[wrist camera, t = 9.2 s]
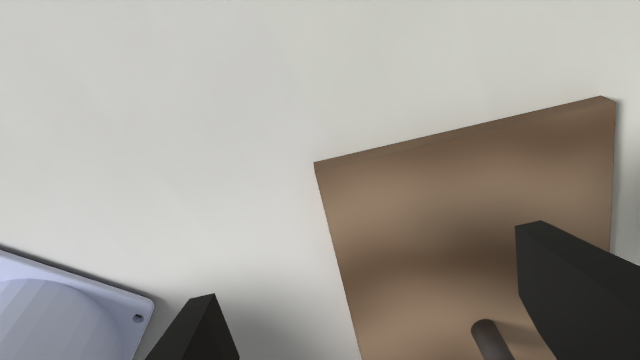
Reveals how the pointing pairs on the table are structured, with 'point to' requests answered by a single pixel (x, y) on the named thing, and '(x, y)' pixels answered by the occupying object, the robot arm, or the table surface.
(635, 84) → the table surface
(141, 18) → the table surface
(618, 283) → the robot arm
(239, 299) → the table surface
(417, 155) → the stand
